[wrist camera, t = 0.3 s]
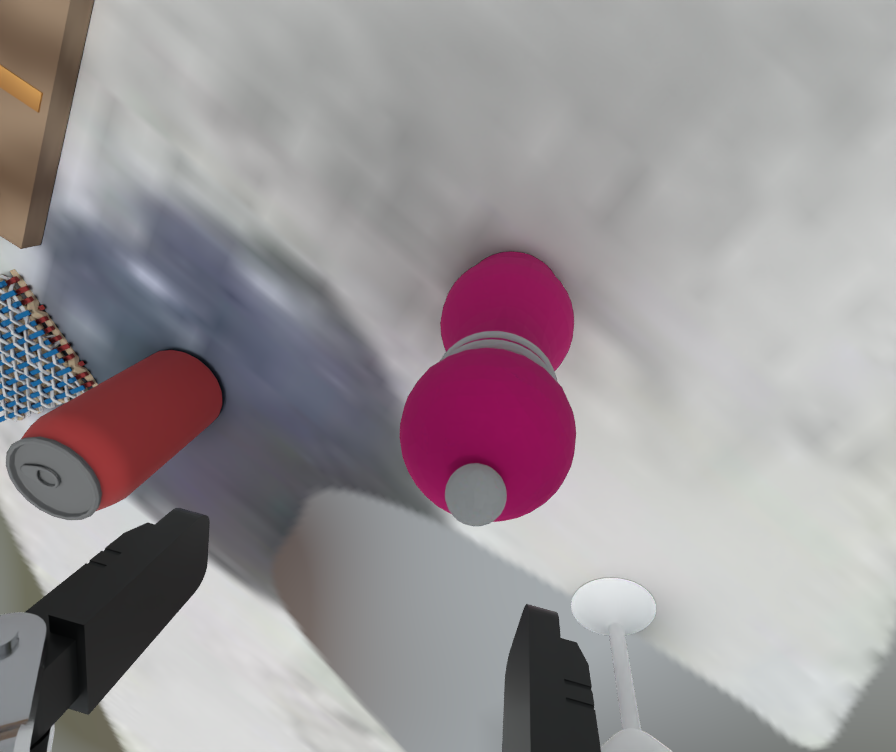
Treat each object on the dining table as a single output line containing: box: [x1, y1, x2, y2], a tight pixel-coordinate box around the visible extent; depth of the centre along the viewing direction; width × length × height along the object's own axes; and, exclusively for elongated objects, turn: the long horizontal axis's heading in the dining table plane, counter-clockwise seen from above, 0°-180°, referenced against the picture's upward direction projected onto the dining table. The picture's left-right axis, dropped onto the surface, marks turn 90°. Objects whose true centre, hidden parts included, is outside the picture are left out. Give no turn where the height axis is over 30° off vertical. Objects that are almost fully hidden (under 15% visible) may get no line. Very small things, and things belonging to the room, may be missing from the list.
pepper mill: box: [400, 252, 576, 526], centre depth 23 cm, size 7×7×20 cm
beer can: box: [6, 350, 222, 520], centre depth 33 cm, size 7×7×12 cm
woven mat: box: [0, 269, 98, 422], centre depth 39 cm, size 10×11×2 cm
